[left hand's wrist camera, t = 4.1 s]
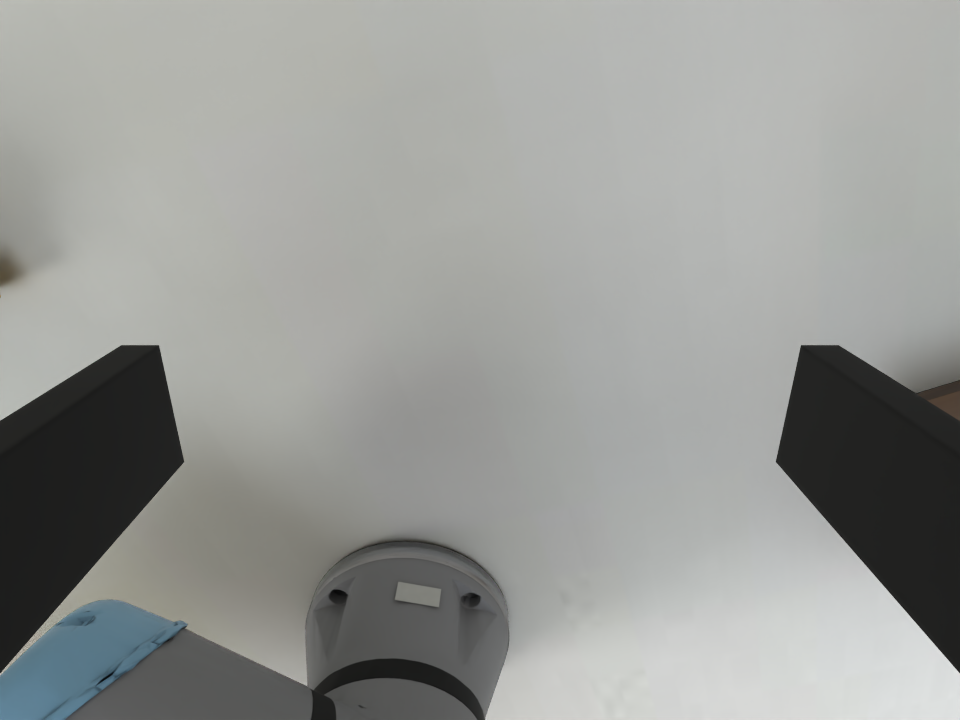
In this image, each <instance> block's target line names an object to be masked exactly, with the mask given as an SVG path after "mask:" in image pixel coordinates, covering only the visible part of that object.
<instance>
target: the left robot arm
mask: <svg viewBox="0 0 960 720" xmlns="http://www.w3.org/2000/svg"><path fill="white" fill-rule="evenodd" d="M183 463H184V459H183V455H182V450H181V446H180V441H179V436H178V432H177V427H176V422H175V418H174V413H173V408H172V404H171V399H170V395H169V390H168V385H167V381H166V376H165V371H164V367H163V362H162V357H161V353H160V348H159V345H121V346H120V347H118V348H116V349H115V350H113V351H112V352H110V353H108V354H107V355H105V356H104V357H102V358H100V359H99V360H97V361H96V362H94V363H92V364H91V365H89V366H88V367H86V368H84V369H83V370H81V371H80V372H78V373H76V374H75V375H73V376H71V377H70V378H68V379H67V380H65V381H63V382H62V383H60V384H59V385H57V386H55V387H54V388H52V389H51V390H49V391H47V392H46V393H44V394H43V395H41V396H39V397H38V398H36V399H35V400H33V401H31V402H30V403H28V404H27V405H25V406H23V407H22V408H20V409H19V410H17V411H15V412H14V413H12V414H11V415H9V416H7V417H6V418H4V419H2V420H1V421H0V673H1V672H2V670H3V669H4V668H5V667H6V666H7V665H8V664H9V662H10V661H11V660H12V659H13V658H14V657H15V656H16V654H17V653H18V652H19V651H20V650H21V649H22V647H23V646H24V645H25V644H26V643H27V642H28V641H29V639H30V638H31V637H32V636H33V635H34V634H35V633H36V631H37V630H38V629H39V628H40V627H41V626H42V624H43V623H44V622H45V621H46V620H47V619H48V618H49V616H50V615H51V614H52V613H53V612H54V611H55V610H56V608H57V607H58V606H59V605H60V604H61V603H62V602H63V600H64V599H65V598H66V597H67V596H68V595H69V593H70V592H71V591H72V590H73V589H74V588H75V587H76V585H77V584H78V583H79V582H80V581H81V580H82V579H83V577H84V576H85V575H86V574H87V573H88V572H89V570H90V569H91V568H92V567H93V566H94V565H95V564H96V562H97V561H98V560H99V559H100V558H101V557H102V556H103V554H104V553H105V552H106V551H107V550H108V549H109V548H110V546H111V545H112V544H113V543H114V542H115V541H116V539H117V538H118V537H119V536H120V535H121V534H122V533H123V531H124V530H125V529H126V528H127V527H128V526H129V525H130V523H131V522H132V521H133V520H134V519H135V518H136V517H137V515H138V514H139V513H140V512H141V511H142V510H143V508H144V507H145V506H146V505H147V504H148V503H149V502H150V500H151V499H152V498H153V497H154V496H155V495H156V494H157V492H158V491H159V490H160V489H161V488H162V487H163V485H164V484H165V483H166V482H167V481H168V480H169V479H170V477H171V476H172V475H173V474H174V473H175V472H176V471H177V469H178V468H179V467H180V466H181V465H182V464H183ZM776 463H777V464H778V465H779V466H780V467H781V468H782V469H783V471H784V472H785V473H786V474H787V475H788V476H789V477H790V479H791V480H792V481H793V482H794V483H795V484H796V485H797V487H798V488H799V489H800V490H801V491H802V492H803V494H804V495H805V496H806V497H807V498H808V499H809V500H810V502H811V503H812V504H813V505H814V506H815V507H816V508H817V510H818V511H819V512H820V513H821V514H822V515H823V517H824V518H825V519H826V520H827V521H828V522H829V523H830V525H831V526H832V527H833V528H834V529H835V530H836V531H837V533H838V534H839V535H840V536H841V537H842V538H843V539H844V541H845V542H846V543H847V544H848V545H849V546H850V548H851V549H852V550H853V551H854V552H855V553H856V554H857V556H858V557H859V558H860V559H861V560H862V561H863V562H864V564H865V565H866V566H867V567H868V568H869V569H870V570H871V572H872V573H873V574H874V575H875V576H876V577H877V579H878V580H879V581H880V582H881V583H882V584H883V585H884V587H885V588H886V589H887V590H888V591H889V592H890V593H891V595H892V596H893V597H894V598H895V599H896V600H897V602H898V603H899V604H900V605H901V606H902V607H903V608H904V610H905V611H906V612H907V613H908V614H909V615H910V616H911V618H912V619H913V620H914V621H915V622H916V623H917V624H918V626H919V627H920V628H921V629H922V630H923V631H924V633H925V634H926V635H927V636H928V637H929V638H930V639H931V641H932V642H933V643H934V644H935V645H936V646H937V647H938V649H939V650H940V651H941V652H942V653H943V654H944V656H945V657H946V658H947V659H948V660H949V661H950V662H951V664H952V665H953V666H954V667H955V668H956V669H957V670H958V672H959V673H960V421H959V420H958V419H956V418H954V417H953V416H951V415H949V414H948V413H946V412H945V411H943V410H941V409H940V408H938V407H937V406H935V405H933V404H932V403H930V402H929V401H927V400H925V399H924V398H922V397H921V396H919V395H917V394H916V393H914V392H913V391H911V390H909V389H908V388H906V387H905V386H903V385H901V384H900V383H898V382H897V381H895V380H893V379H892V378H890V377H889V376H887V375H885V374H884V373H882V372H880V371H879V370H877V369H876V368H874V367H872V366H871V365H869V364H868V363H866V362H864V361H863V360H861V359H860V358H858V357H856V356H855V355H853V354H852V353H850V352H848V351H847V350H845V349H844V348H842V347H840V346H839V345H801V348H800V353H799V357H798V362H797V367H796V371H795V376H794V381H793V385H792V390H791V395H790V399H789V404H788V408H787V413H786V418H785V422H784V427H783V432H782V436H781V441H780V446H779V450H778V455H777V459H776ZM187 625H188V624H187V623H185V622H183V621H176V622H172V621H170V620H167V619H165V618H162V617H160V616H158V615H155V614H153V613H150V612H148V611H145V610H143V609H140V608H138V607H136V606H133V605H131V604H128V603H126V602H122V601H119V600H100V601H95V602H92V603H89V604H87V605H84V606H82V607H80V608H79V609H77V610H75V611H73V612H72V613H70V614H69V615H67V616H66V617H65V618H63V619H62V620H61V621H59V622H58V623H57V624H56V625H55V626H53V627H52V628H51V629H50V630H49V631H47V632H46V633H45V634H44V635H43V636H42V637H41V638H40V639H39V640H37V641H36V642H35V643H34V644H33V645H32V646H31V647H30V648H29V649H28V650H27V651H25V652H24V653H23V654H22V655H21V656H20V657H19V658H18V659H17V660H16V661H15V662H14V663H13V664H12V665H11V666H10V667H9V668H8V669H7V670H6V671H5V672H4V673H3V674H2V675H1V676H0V720H485V717H486V714H487V711H488V708H489V705H490V702H491V699H492V696H493V693H494V690H495V688H496V685H497V682H498V679H499V676H500V673H501V670H502V667H503V664H504V661H505V658H506V655H507V651H508V646H509V621H508V610H507V606H506V602H505V599H504V597H503V594H502V593H501V591H500V589H499V587H498V586H497V584H496V583H495V581H494V580H493V579H492V578H491V577H490V575H489V574H488V573H487V572H486V571H484V570H483V569H482V568H481V567H480V566H479V565H477V564H476V563H475V562H473V561H471V560H470V559H468V558H467V557H465V556H463V555H461V554H459V553H457V552H454V551H452V550H449V549H447V548H443V547H440V546H437V545H432V544H427V543H420V542H390V543H383V544H378V545H374V546H370V547H367V548H364V549H361V550H359V551H357V552H355V553H352V554H350V555H349V556H347V557H345V558H344V559H342V560H341V561H339V562H338V563H337V564H335V565H334V566H333V567H332V568H331V569H330V570H329V571H328V572H327V573H326V575H325V576H324V577H323V579H322V580H321V582H320V583H319V585H318V587H317V589H316V591H315V594H314V597H313V600H312V603H311V605H310V608H309V611H308V614H307V619H306V627H305V630H306V632H305V639H306V660H307V681H308V687H307V686H305V685H303V684H301V683H299V682H297V681H294V680H292V679H290V678H288V677H286V676H284V675H282V674H280V673H277V672H275V671H273V670H271V669H269V668H267V667H265V666H263V665H260V664H258V663H256V662H254V661H252V660H250V659H248V658H246V657H243V656H241V655H239V654H237V653H235V652H233V651H231V650H229V649H226V648H224V647H222V646H220V645H218V644H216V643H214V642H212V641H210V640H207V639H205V638H203V637H201V636H199V635H197V634H195V633H193V632H191V631H189V630H187V629H185V628H186V627H187Z"/></svg>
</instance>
